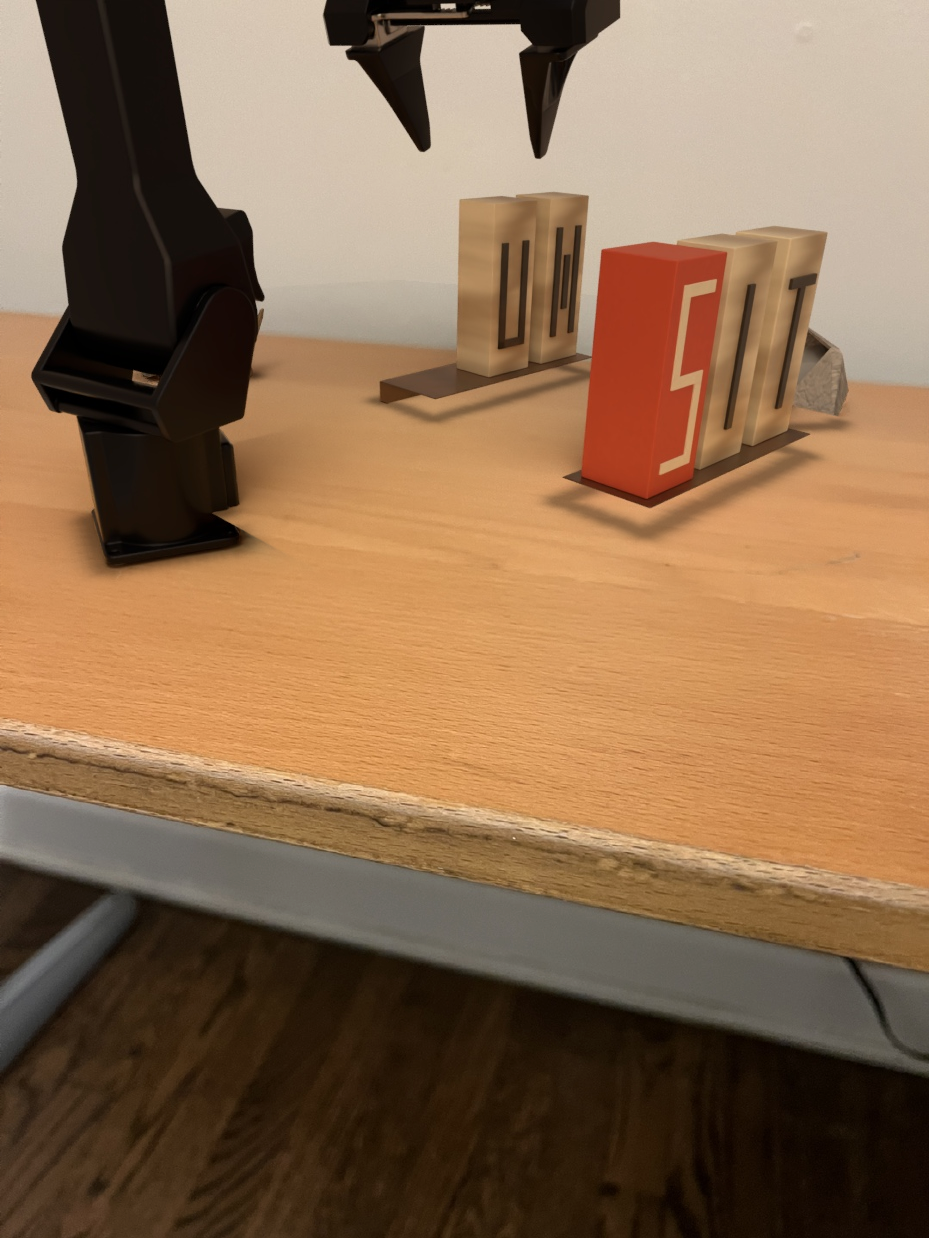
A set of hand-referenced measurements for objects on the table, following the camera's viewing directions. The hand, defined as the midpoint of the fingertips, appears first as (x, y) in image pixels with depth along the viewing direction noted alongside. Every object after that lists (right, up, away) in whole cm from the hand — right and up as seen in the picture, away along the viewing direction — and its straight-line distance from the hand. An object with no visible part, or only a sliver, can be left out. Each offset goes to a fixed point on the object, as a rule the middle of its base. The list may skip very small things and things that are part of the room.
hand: (481, 153), depth 63 cm
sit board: (+13, -24, -7) cm, 28 cm away
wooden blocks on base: (+1, -14, +9) cm, 16 cm away
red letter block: (+9, -24, -12) cm, 28 cm away
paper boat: (+23, -17, +5) cm, 29 cm away
